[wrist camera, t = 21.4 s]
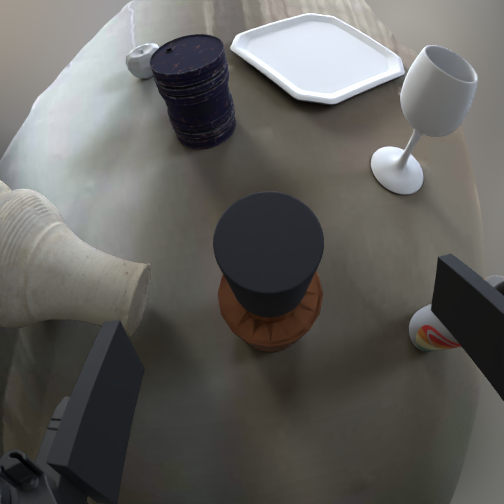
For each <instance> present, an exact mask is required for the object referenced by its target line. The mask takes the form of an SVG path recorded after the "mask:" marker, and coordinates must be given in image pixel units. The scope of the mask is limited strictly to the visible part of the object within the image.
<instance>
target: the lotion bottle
mask: <svg viewBox="0 0 504 504" xmlns="http://www.w3.org/2000/svg"><path fill="white" fill-rule="evenodd" d="M484 280H485V281H487V282H488V283H489V284H490V285H491V286H493V287H494V288H495V289H496V290H497V291H498V292H500V293H501V294H502V295H503V296H504V277H502V276H499V275H492V276H489V277H487V278H485V279H484ZM431 305H432V304H430V305H428V306H426V307H423V308H421V309H420V310H418V311H417V312H416V313H415V314H414V315H413V317H412V319H411V321H410V324H409V335H410V339H411V341H412V343H413V344H414V345H415V346H416V347H417V348H418V349H420V350H423V351H436V350H443V349H450V348H456V347H462V346H461V345H460V344H459V343H458V342H457V340H456V339H455V338H454V337H453V336H452V334H451V333H450V332H449V331H448V330H447V329H446V327H445V326H444V325H443V324H442V323H441V322H440V320H439V319H438V318H437V317H436V316H435V315H434V314H433V312H432V311H431Z"/></svg>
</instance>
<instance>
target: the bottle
mask: <svg viewBox="0 0 504 504" xmlns="http://www.w3.org/2000/svg"><path fill="white" fill-rule="evenodd" d="M322 297H323V291H322V287H321V283H320V279H319V275H318V273H317V272H315V274H314V276H313V278H312V281H311V283H310V285H309V287H308V289H307V291H306V293H305V295H304V297H303V299H302V301H301V302H300V303H299V305H298V306H297V307H296V308H294V309H293V310H292V311H290V312H288V313H287V314H284V315H282V316H278V317H261V316H257V315H255V314H252V313H251V312H249V311H247V310H246V309H245V308H243V307H242V305H241V304H240V303H239V302H238V301H237V299H236V297H235V295H234V293H233V292H232V290H231V288H230V286H229V284H228V282H227V280H226V278H225V277H224V275H222V279H221V283H220V287H219V291H218V299H219V305H220V311H221V315H222V316H223V318H224V319H225V321H226V323H227V324H228V326H229V327H230V329H231V330H232V331H233V332H234V333H235V334H236V335H238V336H239V337H240V338H241V339H243V340H244V341H245V342H246V343H248V344H249V345H251V346H252V347H254V348H255V349H257V350H260V351H265V352H276V351H281V350H284V349H286V348H287V347H289V346H290V345H292V344H293V343H295V342H296V341H297V340H298V339H300V338H301V337H302V336H303V335H304V334H306V333H307V332H308V331H309V330H310V328H311V327H312V325H313V323H314V322H315V320H316V319H317V317H318V316H319V314H320V309H321V303H322Z"/></svg>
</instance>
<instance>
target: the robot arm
mask: <svg viewBox="0 0 504 504" xmlns="http://www.w3.org/2000/svg"><path fill="white" fill-rule="evenodd" d="M431 311H432V312H433V314H434V315H435V316H436V317H437V318H438V319H439V320H440V322H441V323H442V324H443V325H444V326H445V327H446V329H447V330H448V331H449V332H450V333H451V334H452V336H453V337H454V338H455V339H456V340H457V342H458V343H459V344H460V345H461V346H462V348H463V349H464V350H465V351H466V353H467V354H468V355H469V356H470V358H471V359H472V360H473V361H474V363H475V364H476V365H477V366H478V368H479V369H480V370H481V371H482V373H483V374H484V375H485V377H486V378H487V379H488V381H489V382H490V383H491V385H492V386H493V387H494V389H495V390H496V391H497V393H498V394H499V395H500V397H501V398H502V400H503V401H504V296H503V295H502V294H501V293H500V292H498V291H497V290H496V289H495V288H494V287H493V286H491V285H490V284H489V283H488V282H487V281H485V280H484V279H483V278H482V277H481V276H479V275H478V274H477V273H476V272H474V271H473V270H472V269H471V268H469V267H468V266H467V265H465V264H464V263H463V262H462V261H460V260H459V259H458V258H456V257H455V256H454V255H452V254H448V255H444V256H440V257H438V262H437V271H436V279H435V286H434V293H433V299H432V305H431ZM143 373H144V367H143V365H142V363H141V361H140V359H139V358H138V356H137V354H136V352H135V350H134V348H133V346H132V344H131V342H130V340H129V338H128V336H127V334H126V331H125V329H124V327H123V325H122V323H121V321H120V320H115V321H108V322H104V323H103V325H102V327H101V329H100V331H99V333H98V335H97V337H96V340H95V342H94V344H93V346H92V348H91V350H90V352H89V355H88V357H87V359H86V361H85V363H84V366H83V368H82V370H81V373H80V375H79V377H78V379H77V382H76V384H75V387H74V389H73V391H72V394H71V396H70V397H64V398H63V399H62V400H61V401H60V402H59V404H58V405H57V406H56V408H55V410H54V412H53V415H52V417H51V421H50V422H49V425H48V427H47V428H48V430H46V433H45V435H44V438H43V440H42V443H41V446H40V449H39V451H38V454H37V457H36V460H35V462H33V461H32V460H31V459H30V458H29V457H28V456H27V455H26V454H25V453H23V452H22V451H20V450H16V449H13V450H10V451H8V452H6V453H5V454H4V455H3V456H2V457H1V459H0V504H88V503H87V497H88V496H89V497H90V498H92V499H93V500H95V501H96V502H98V503H104V504H117V502H118V496H119V489H120V483H121V477H122V472H123V466H124V461H125V455H126V450H127V445H128V440H129V435H130V430H131V425H132V421H133V416H134V412H135V407H136V403H137V398H138V394H139V390H140V386H141V381H142V377H143Z"/></svg>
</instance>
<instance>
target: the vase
mask: <svg viewBox="0 0 504 504" xmlns="http://www.w3.org/2000/svg"><path fill="white" fill-rule="evenodd" d="M150 280H151V266H150V264H144V263H136V262H131V261H127V260H124V259H120V258H117V257H114V256H111V255H109V254H106V253H104V252H102V251H99V250H97V249H95V248H93V247H91V246H90V245H88V244H86V243H84V242H83V241H82V240H80V239H79V238H78V237H77V236H76V235H75V234H74V233H73V232H72V231H71V229H70V228H69V226H67V225H66V224H65V222H64V220H63V218H62V216H61V214H60V213H59V211H58V210H57V208H56V207H55V206H54V205H53V204H52V203H51V202H50V201H49V200H48V199H47V198H46V197H44V196H43V195H42V194H40V193H39V192H36V191H34V190H29V189H16V190H13V191H11V189H10V188H9V187H8V186H6V185H5V184H4V183H3V182H2V181H1V180H0V326H2V327H6V328H21V327H25V326H28V325H30V324H33V323H35V322H37V321H45V320H49V319H65V320H76V321H82V322H88V323H93V324H97V325H100V326H102V325H103V323H104V322H108V321H115V320H120V321H121V323H122V325H123V327H124V329H125V331H126V334H127V336H128V337H132V336H133V335H134V334H135V332H136V330H137V328H138V326H139V324H140V322H141V319H142V316H143V313H144V310H145V307H146V303H147V299H148V294H149V285H150Z"/></svg>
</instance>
